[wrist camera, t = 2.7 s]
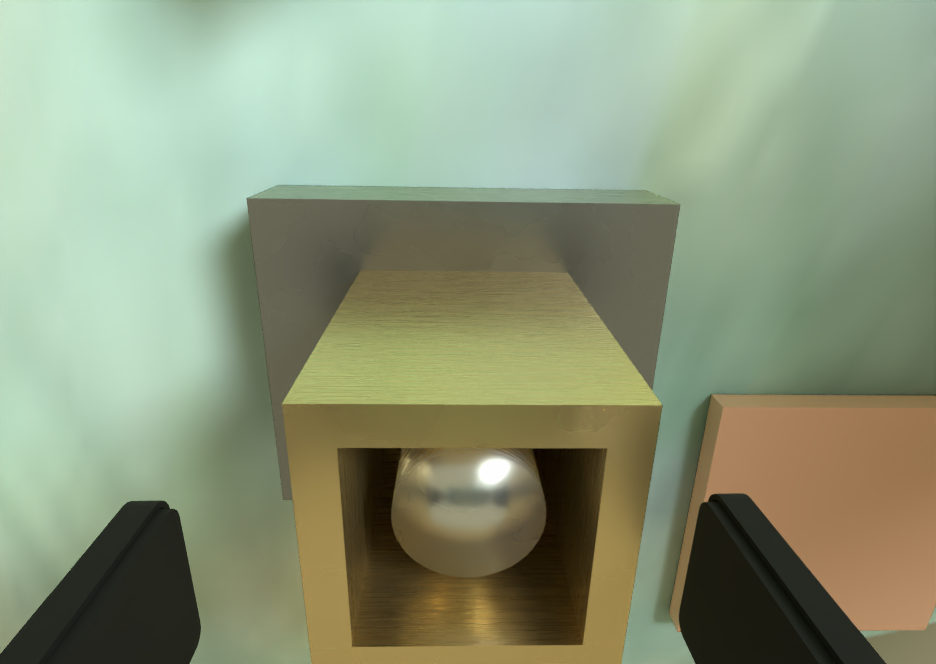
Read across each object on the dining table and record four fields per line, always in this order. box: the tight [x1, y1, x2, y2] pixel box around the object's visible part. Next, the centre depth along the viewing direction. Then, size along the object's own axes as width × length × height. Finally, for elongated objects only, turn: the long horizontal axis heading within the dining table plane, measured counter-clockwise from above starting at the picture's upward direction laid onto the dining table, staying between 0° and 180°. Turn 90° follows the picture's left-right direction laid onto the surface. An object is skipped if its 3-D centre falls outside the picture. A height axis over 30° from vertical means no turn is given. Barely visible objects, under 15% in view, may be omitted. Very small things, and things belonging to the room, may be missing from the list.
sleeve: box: [282, 270, 663, 664], centre depth 14 cm, size 6×6×8 cm
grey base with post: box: [247, 185, 680, 577], centre depth 16 cm, size 12×10×10 cm
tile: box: [669, 394, 936, 632], centre depth 23 cm, size 11×11×1 cm
